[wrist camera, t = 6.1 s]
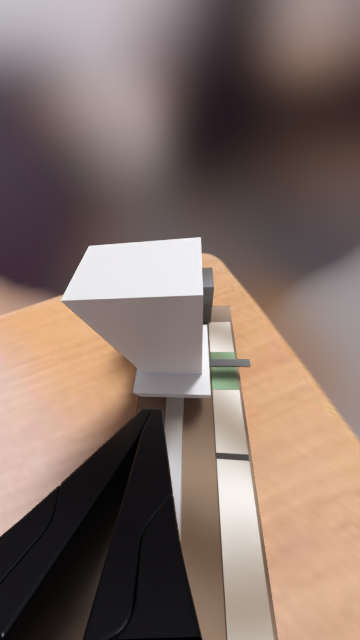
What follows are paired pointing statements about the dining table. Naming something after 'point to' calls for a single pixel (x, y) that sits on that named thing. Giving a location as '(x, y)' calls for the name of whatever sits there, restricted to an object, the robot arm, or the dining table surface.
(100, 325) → the slider
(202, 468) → the base
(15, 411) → the dining table surface
